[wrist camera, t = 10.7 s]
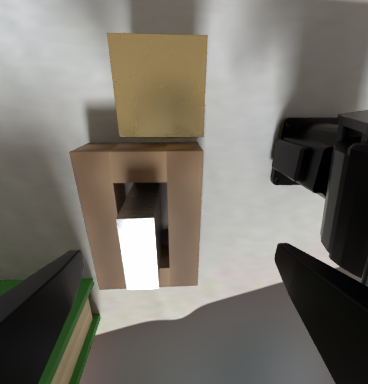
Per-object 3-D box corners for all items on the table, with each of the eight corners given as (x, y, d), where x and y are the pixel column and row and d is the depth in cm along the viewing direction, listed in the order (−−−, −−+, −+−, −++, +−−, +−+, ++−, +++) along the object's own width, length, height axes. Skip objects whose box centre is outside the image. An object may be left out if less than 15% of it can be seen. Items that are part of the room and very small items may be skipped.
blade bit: (159, 181, 20) (153, 218, 14) (162, 236, 23) (158, 288, 16) (133, 182, 20) (115, 219, 13) (139, 237, 22) (127, 290, 16)
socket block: (197, 142, 19) (203, 151, 16) (193, 258, 25) (197, 285, 21) (89, 142, 19) (69, 152, 15) (110, 261, 24) (99, 289, 21)
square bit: (193, 62, 17) (207, 35, 10) (192, 125, 19) (203, 136, 12) (132, 60, 16) (107, 32, 10) (137, 125, 18) (119, 136, 12)
